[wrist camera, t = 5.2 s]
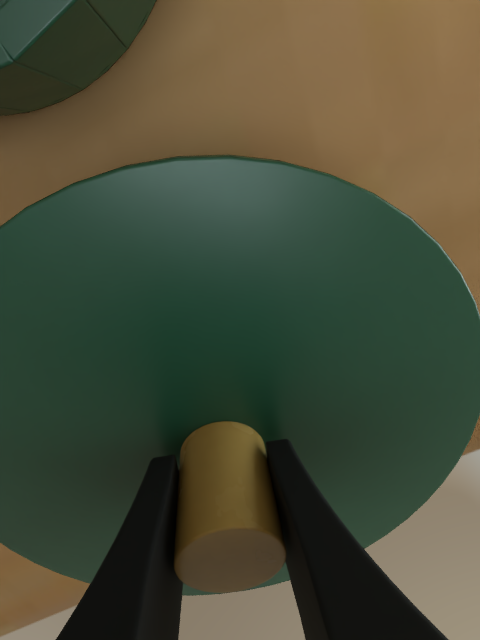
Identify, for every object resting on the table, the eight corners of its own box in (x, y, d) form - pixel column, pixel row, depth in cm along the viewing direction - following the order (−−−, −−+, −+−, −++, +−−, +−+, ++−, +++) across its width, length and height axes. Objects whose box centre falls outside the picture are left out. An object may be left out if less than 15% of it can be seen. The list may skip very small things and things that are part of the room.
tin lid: (53, 590, 15) (5, 744, 12) (-205, 193, 8) (-621, 255, 4) (420, 532, 16) (490, 657, 12) (526, 118, 8) (804, 105, 5)
